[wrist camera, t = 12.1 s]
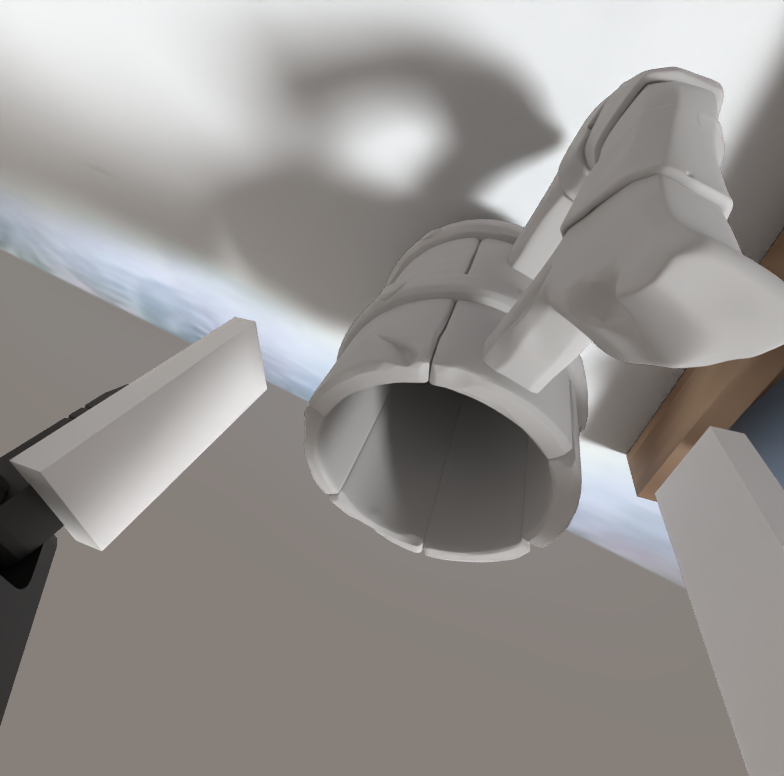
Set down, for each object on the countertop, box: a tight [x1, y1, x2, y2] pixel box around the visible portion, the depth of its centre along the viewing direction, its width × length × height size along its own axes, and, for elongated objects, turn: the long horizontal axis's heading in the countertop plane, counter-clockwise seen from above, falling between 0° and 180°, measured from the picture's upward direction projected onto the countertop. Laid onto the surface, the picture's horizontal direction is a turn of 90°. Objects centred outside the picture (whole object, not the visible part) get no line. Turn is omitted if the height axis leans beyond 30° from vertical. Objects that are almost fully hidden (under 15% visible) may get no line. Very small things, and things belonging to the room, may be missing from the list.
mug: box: [304, 67, 784, 562], centre depth 10 cm, size 8×12×12 cm, turn 155°
